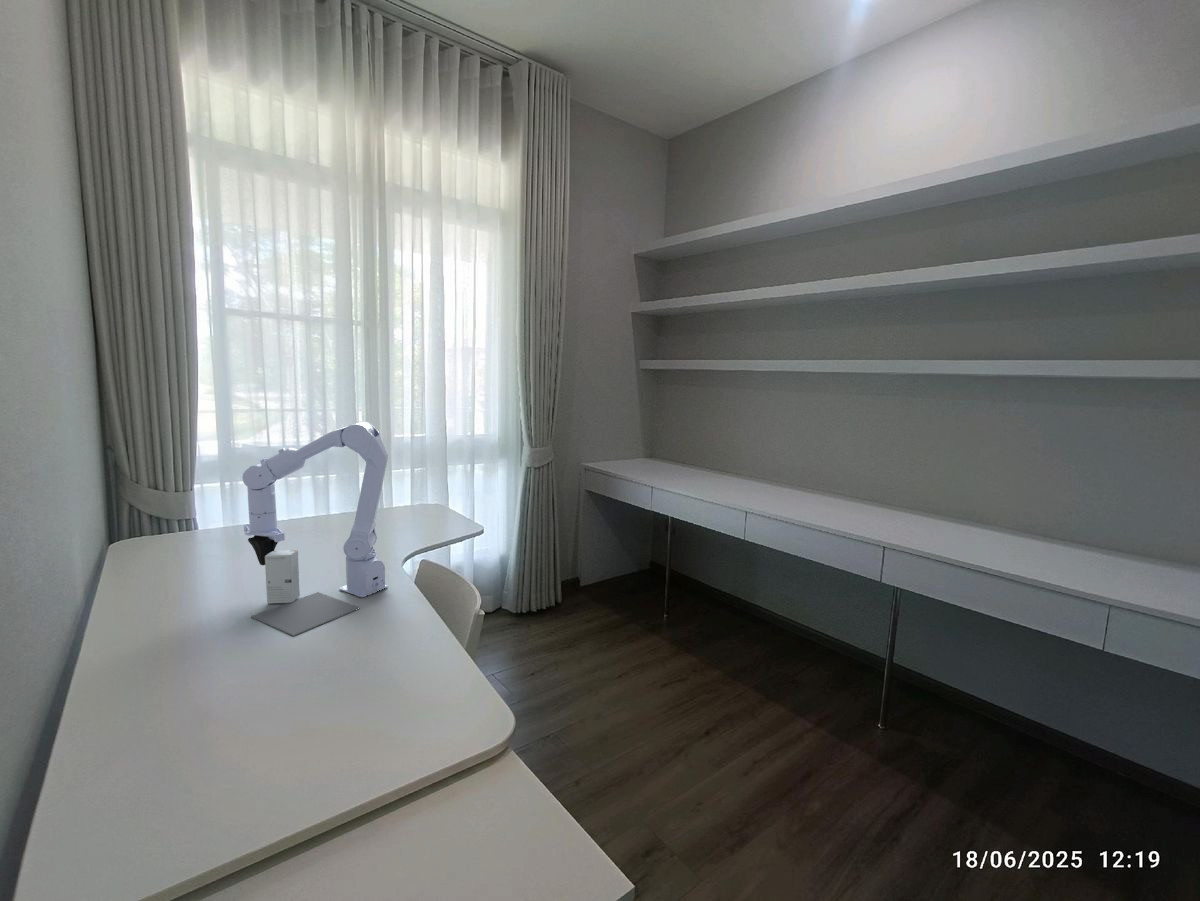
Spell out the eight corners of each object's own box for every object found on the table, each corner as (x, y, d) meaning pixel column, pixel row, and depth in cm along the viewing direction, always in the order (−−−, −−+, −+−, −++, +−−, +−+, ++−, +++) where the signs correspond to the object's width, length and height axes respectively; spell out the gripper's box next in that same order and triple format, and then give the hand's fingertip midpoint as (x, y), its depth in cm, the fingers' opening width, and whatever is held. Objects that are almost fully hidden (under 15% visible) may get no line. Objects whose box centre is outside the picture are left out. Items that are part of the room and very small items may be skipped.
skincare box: (266, 604, 123) (262, 556, 122) (275, 597, 128) (271, 550, 126) (293, 602, 124) (289, 554, 123) (301, 595, 129) (298, 549, 127)
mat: (359, 608, 123) (359, 607, 123) (293, 636, 109) (293, 635, 109) (317, 593, 131) (317, 592, 131) (251, 617, 117) (251, 615, 117)
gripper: (229, 510, 127) (232, 562, 129) (261, 519, 120) (265, 574, 122) (259, 505, 133) (262, 554, 135) (292, 513, 126) (294, 566, 128)
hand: (265, 563), depth 129 cm, fingers closed
